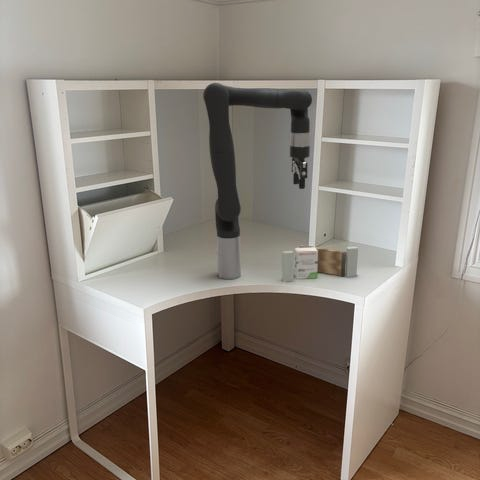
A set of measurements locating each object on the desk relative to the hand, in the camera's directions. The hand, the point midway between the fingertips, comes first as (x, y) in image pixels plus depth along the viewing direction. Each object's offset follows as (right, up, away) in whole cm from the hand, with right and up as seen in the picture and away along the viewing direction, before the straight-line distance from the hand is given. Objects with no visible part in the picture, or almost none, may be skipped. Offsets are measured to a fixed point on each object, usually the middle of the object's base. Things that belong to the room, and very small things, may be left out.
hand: (298, 186), depth 192 cm
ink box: (+4, -36, +7) cm, 37 cm away
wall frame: (+9, -36, +5) cm, 38 cm away
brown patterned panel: (+11, -34, +11) cm, 37 cm away
